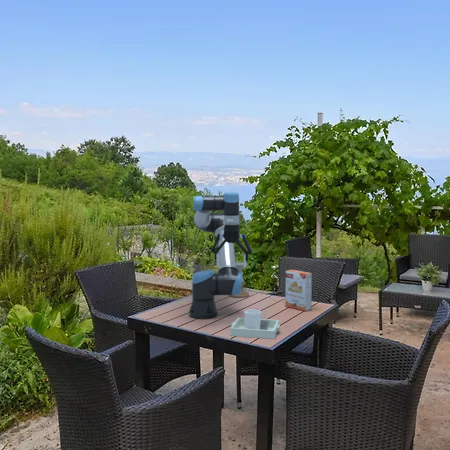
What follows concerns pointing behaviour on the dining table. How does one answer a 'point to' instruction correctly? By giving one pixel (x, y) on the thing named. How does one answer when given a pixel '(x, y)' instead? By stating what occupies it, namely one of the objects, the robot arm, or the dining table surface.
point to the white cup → (252, 319)
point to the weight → (263, 325)
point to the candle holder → (243, 293)
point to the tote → (240, 330)
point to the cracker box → (298, 290)
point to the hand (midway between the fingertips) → (231, 267)
